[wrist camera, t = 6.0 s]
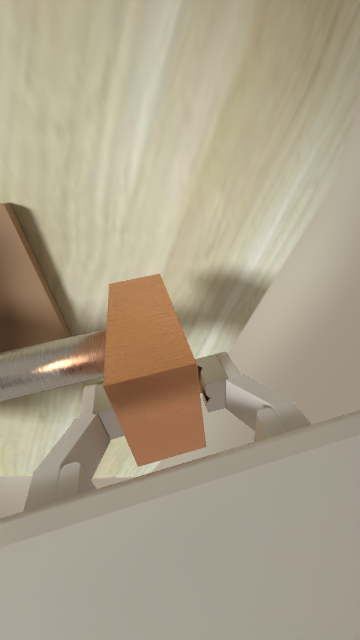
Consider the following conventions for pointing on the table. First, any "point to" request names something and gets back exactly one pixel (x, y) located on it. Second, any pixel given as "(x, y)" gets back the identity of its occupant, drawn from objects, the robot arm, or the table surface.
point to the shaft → (125, 370)
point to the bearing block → (24, 292)
